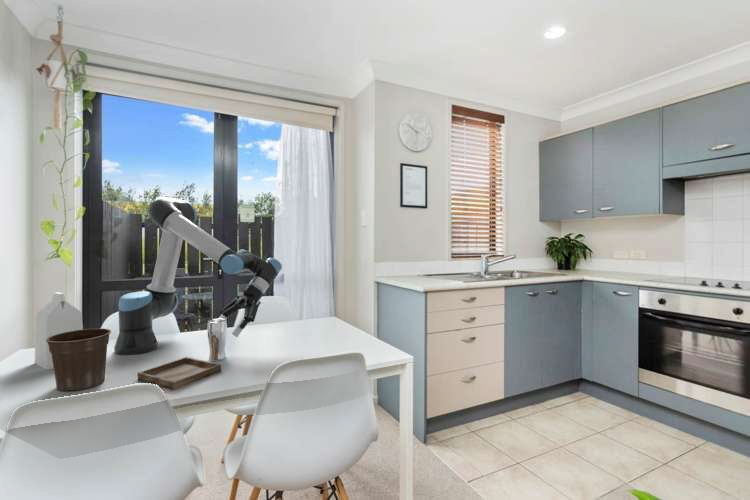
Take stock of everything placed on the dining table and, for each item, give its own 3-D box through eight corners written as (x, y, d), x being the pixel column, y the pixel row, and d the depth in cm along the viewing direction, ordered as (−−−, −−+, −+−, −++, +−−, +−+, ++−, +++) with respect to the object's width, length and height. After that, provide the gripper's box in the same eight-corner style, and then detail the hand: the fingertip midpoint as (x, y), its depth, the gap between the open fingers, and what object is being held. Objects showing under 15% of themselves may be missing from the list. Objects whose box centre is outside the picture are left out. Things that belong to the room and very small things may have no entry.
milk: (85, 360, 141) (84, 292, 140) (46, 369, 131) (44, 296, 130) (72, 354, 147) (71, 289, 146) (34, 363, 137) (32, 293, 136)
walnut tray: (137, 380, 122) (137, 372, 122) (186, 363, 139) (186, 356, 138) (174, 390, 115) (174, 382, 114) (221, 371, 131) (221, 364, 131)
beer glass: (220, 362, 140) (219, 323, 139) (203, 361, 141) (203, 322, 141) (230, 356, 147) (230, 319, 146) (215, 355, 148) (214, 318, 148)
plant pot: (34, 389, 114) (33, 338, 114) (91, 372, 129) (90, 326, 129) (68, 398, 108) (67, 344, 108) (123, 378, 124) (122, 330, 123)
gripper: (280, 298, 152) (249, 343, 140) (243, 292, 166) (212, 332, 154) (270, 286, 147) (237, 332, 136) (232, 281, 161) (199, 322, 150)
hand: (223, 332), depth 145 cm, fingers open, 13 cm apart
